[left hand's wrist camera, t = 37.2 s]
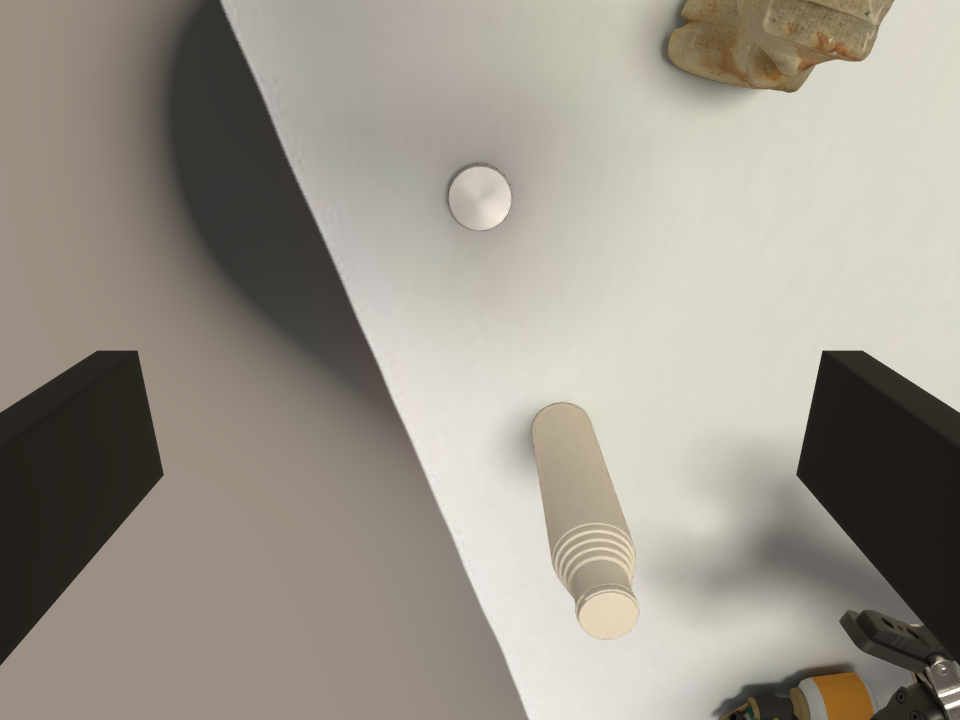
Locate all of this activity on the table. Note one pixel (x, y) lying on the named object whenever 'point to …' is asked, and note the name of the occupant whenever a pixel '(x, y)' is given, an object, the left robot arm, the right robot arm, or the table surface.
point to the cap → (479, 197)
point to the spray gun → (815, 701)
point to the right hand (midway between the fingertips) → (800, 685)
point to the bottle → (585, 522)
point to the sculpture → (772, 38)
